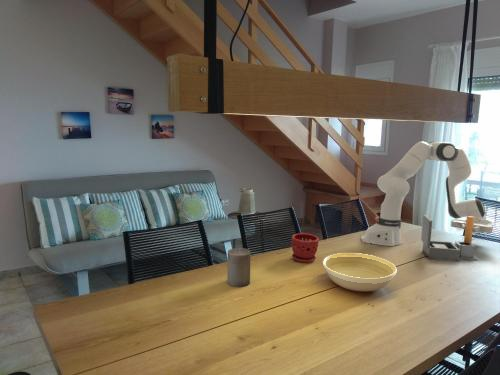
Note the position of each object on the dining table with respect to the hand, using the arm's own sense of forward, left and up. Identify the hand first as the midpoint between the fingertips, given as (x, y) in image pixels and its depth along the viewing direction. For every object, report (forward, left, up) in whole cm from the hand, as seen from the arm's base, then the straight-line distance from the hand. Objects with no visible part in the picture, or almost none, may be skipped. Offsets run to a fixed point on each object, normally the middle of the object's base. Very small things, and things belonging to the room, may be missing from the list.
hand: (468, 228), depth 207 cm
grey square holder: (-4, -9, -13) cm, 17 cm away
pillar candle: (-110, -72, -13) cm, 132 cm away
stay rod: (0, +1, -10) cm, 10 cm away
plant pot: (-85, -36, -13) cm, 94 cm away
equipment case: (-16, -11, -13) cm, 24 cm away
